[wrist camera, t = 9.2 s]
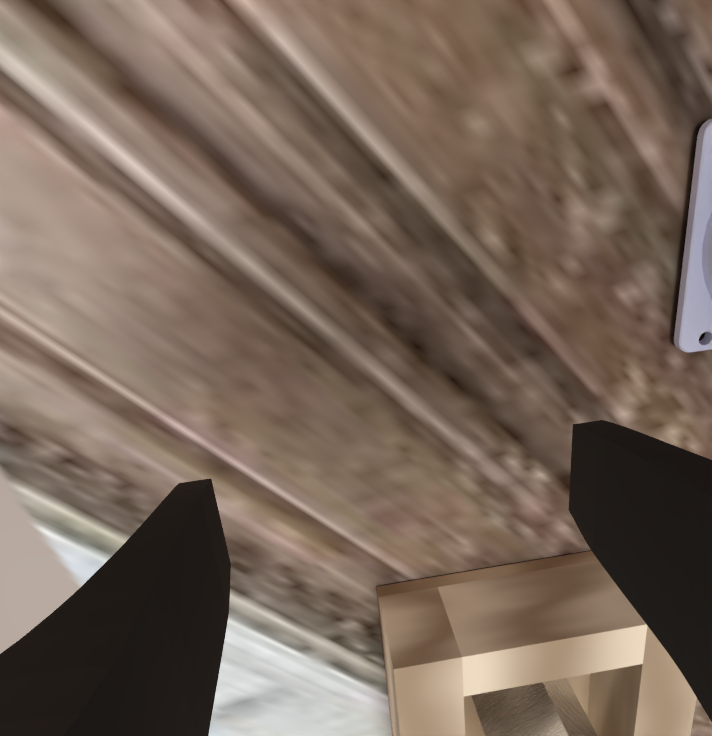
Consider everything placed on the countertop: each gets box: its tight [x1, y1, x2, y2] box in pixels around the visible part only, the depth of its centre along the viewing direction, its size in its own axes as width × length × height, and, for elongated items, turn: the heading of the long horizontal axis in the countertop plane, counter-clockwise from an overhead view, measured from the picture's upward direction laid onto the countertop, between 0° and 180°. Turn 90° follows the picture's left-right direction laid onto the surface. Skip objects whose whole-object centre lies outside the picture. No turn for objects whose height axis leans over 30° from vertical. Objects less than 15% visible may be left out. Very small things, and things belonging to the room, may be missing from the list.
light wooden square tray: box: [376, 551, 697, 736], centre depth 25 cm, size 12×12×4 cm
